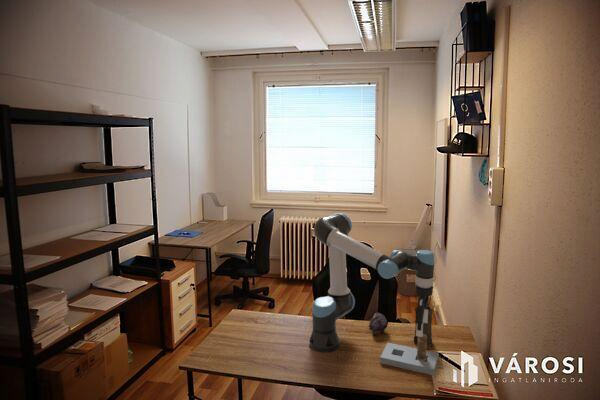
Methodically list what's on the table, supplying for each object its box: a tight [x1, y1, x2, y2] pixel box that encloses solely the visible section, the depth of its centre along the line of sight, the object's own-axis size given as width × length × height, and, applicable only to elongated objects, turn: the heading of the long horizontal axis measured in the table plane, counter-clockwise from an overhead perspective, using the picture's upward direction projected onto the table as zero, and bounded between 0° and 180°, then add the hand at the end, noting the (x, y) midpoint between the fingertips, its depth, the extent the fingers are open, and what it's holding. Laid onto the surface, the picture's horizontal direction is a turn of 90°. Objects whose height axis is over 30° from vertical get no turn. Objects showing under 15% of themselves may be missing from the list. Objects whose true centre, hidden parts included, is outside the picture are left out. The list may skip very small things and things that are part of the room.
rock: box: [368, 312, 389, 336], centre depth 221 cm, size 12×9×10 cm
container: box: [413, 306, 434, 348], centre depth 207 cm, size 9×9×18 cm
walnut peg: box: [416, 334, 428, 362], centre depth 189 cm, size 4×4×14 cm
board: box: [379, 342, 439, 376], centre depth 193 cm, size 24×14×3 cm, turn 64°
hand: (421, 329), depth 188 cm, fingers open, 13 cm apart
